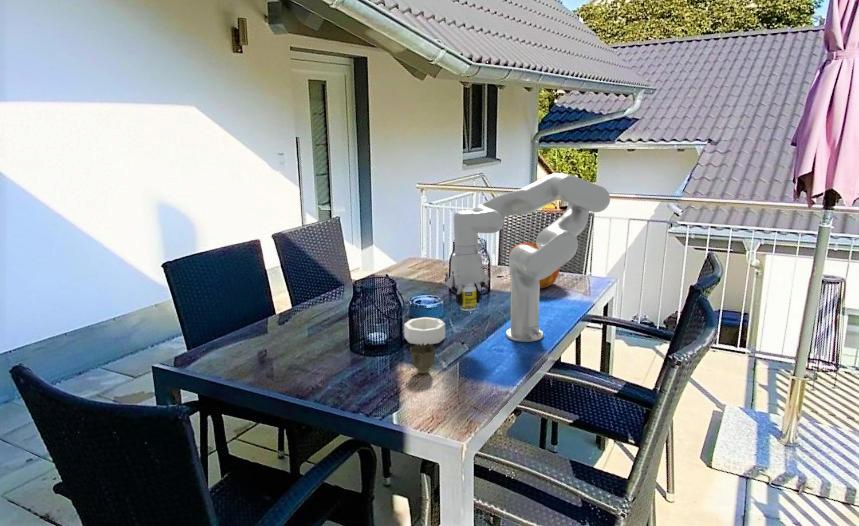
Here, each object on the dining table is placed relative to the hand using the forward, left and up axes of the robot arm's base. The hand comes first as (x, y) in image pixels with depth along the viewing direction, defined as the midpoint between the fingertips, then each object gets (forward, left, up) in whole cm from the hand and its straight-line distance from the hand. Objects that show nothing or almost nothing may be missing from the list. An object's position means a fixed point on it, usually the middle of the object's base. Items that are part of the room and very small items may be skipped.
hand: (468, 302), depth 194 cm
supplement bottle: (0, 0, -2) cm, 2 cm away
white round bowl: (+11, +12, -14) cm, 21 cm away
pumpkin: (+52, -54, -15) cm, 77 cm away
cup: (-16, +22, -14) cm, 31 cm away
